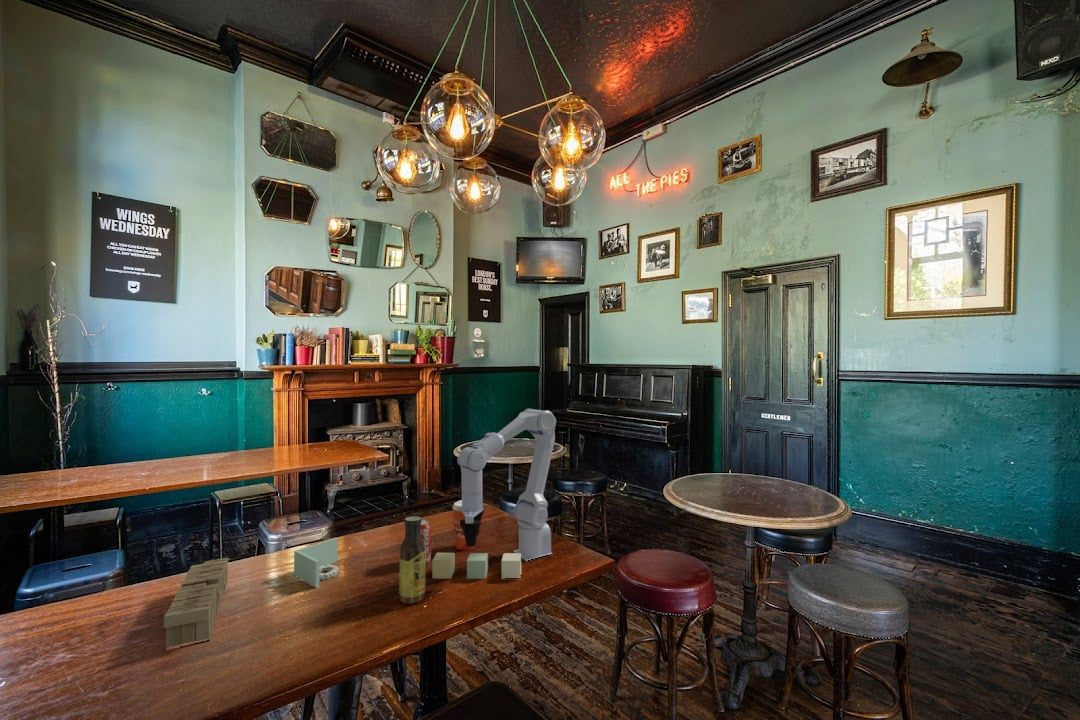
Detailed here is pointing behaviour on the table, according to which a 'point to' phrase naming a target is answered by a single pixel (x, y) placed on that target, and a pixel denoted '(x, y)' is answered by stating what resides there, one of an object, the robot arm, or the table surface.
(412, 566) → the sauce bottle
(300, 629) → the table surface
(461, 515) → the paper cup
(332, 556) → the right angle wall
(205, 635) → the block tower
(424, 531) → the soda can
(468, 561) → the sage green block
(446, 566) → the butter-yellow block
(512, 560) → the cream block
